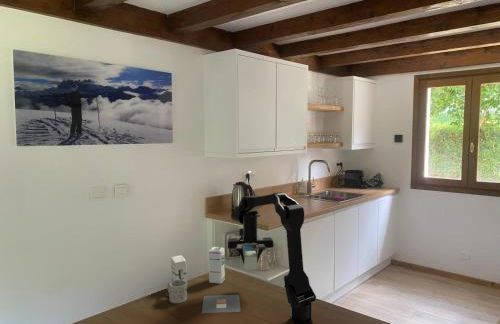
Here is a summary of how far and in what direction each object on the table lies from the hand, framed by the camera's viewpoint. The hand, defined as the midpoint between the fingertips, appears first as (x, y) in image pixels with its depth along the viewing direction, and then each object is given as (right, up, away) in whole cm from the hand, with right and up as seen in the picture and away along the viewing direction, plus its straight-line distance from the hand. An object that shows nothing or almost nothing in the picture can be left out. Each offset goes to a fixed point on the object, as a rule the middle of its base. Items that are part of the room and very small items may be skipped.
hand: (250, 263), depth 151 cm
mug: (-30, -12, -7) cm, 33 cm away
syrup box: (-15, -11, +10) cm, 21 cm away
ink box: (-30, -11, +5) cm, 33 cm away
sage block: (0, -1, 0) cm, 1 cm away
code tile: (-11, -12, -12) cm, 20 cm away
